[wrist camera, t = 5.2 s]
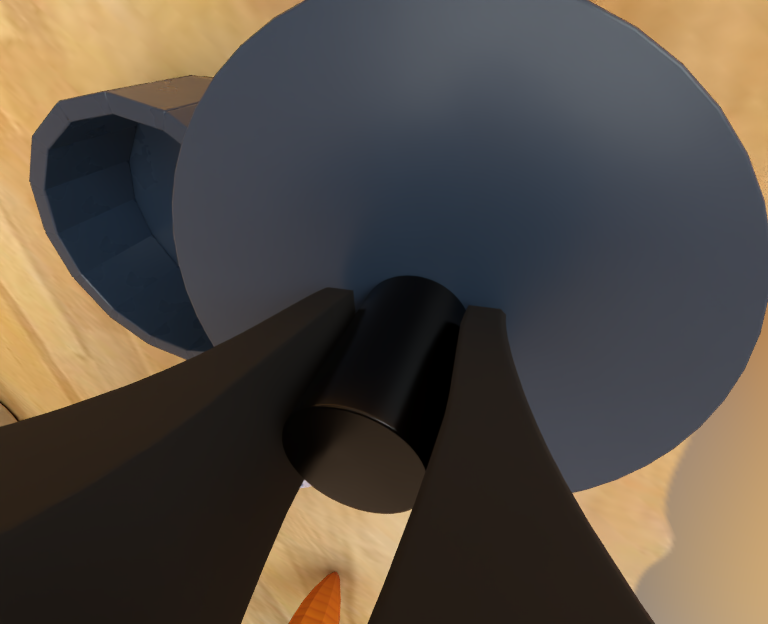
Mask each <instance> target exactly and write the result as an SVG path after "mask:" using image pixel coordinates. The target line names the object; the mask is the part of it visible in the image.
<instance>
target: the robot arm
mask: <svg viewBox="0 0 768 624" xmlns="http://www.w3.org/2000/svg"><path fill="white" fill-rule="evenodd" d="M355 314H356V312H355V302H354V292H353V290H346V289H338V288H331V287H326V288H324V289H321V290H319V291H317V292H315V293H313V294H311V295H309V296H308V297H306V298H304V299H302V300H300V301H298V302H297V303H295V304H293V305H291V306H289V307H288V308H286V309H284V310H282V311H281V312H279V313H277V314H275V315H273V316H272V317H270V318H268V319H266V320H264V321H263V322H261V323H259V324H257V325H255V326H253V327H252V328H250V329H248V330H246V331H244V332H242V333H240V334H239V335H237V336H235V337H233V338H231V339H229V340H227V341H225V342H223V343H221V344H219V345H217V346H215V347H213V348H211V349H209V350H207V351H205V352H203V353H201V354H199V355H197V356H195V357H193V358H191V359H189V360H186V361H184V362H182V363H180V364H177V365H175V366H173V367H171V368H169V369H166V370H164V371H161V372H159V373H156V374H154V375H152V376H149V377H147V378H144V379H142V380H140V381H137V382H135V383H132V384H129V385H127V386H124V387H121V388H119V389H116V390H113V391H110V392H107V393H104V394H101V395H99V396H96V397H93V398H90V399H87V400H84V401H81V402H78V403H76V404H73V405H70V406H67V407H64V408H61V409H58V410H55V411H52V412H49V413H45V414H42V415H39V416H35V417H32V418H29V419H25V420H22V421H19V422H15V423H12V424H8V425H4V426H1V427H0V624H241V622H242V620H243V617H244V614H245V612H246V609H247V607H248V604H249V602H250V599H251V597H252V594H253V592H254V590H255V587H256V585H257V582H258V580H259V577H260V575H261V572H262V570H263V567H264V565H265V562H266V560H267V558H268V555H269V553H270V551H271V549H272V546H273V544H274V542H275V539H276V537H277V535H278V532H279V530H280V528H281V525H282V523H283V521H284V518H285V516H286V514H287V512H288V510H289V508H290V506H291V504H292V502H293V500H294V498H295V496H296V494H297V492H298V490H299V488H305V487H310V486H311V485H310V484H309V483H308V482H307V481H306V480H304V479H303V478H302V477H301V476H300V474H299V473H298V472H297V471H296V470H295V469H294V467H293V466H292V465H291V463H290V462H289V460H288V458H287V456H286V454H285V451H284V448H283V444H282V430H283V426H284V424H285V421H286V420H287V418H288V417H289V415H290V414H291V412H292V411H293V409H294V408H295V406H296V404H297V403H298V401H299V400H300V398H301V397H302V395H303V394H304V392H305V391H306V389H307V388H308V386H309V385H310V383H311V381H312V380H313V378H314V377H315V375H316V374H317V372H318V371H319V369H320V368H321V366H322V365H323V363H324V362H325V360H326V358H327V357H328V355H329V354H330V352H331V351H332V349H333V348H334V346H335V345H336V343H337V342H338V340H339V339H340V337H341V335H342V334H343V332H344V331H345V329H346V328H347V326H348V325H349V323H350V322H351V320H352V319H353V317H354V316H355ZM368 624H655V623H654V622H653V620H652V619H651V617H650V616H649V614H648V613H647V612H646V610H645V609H644V607H643V606H642V604H641V603H640V602H639V600H638V598H637V597H636V595H635V594H634V592H633V591H632V589H631V587H630V586H629V584H628V583H627V581H626V580H625V578H624V577H623V575H622V573H621V572H620V570H619V569H618V567H617V566H616V564H615V563H614V561H613V559H612V558H611V556H610V555H609V553H608V552H607V550H606V548H605V547H604V545H603V544H602V542H601V541H600V539H599V538H598V536H597V534H596V533H595V531H594V530H593V528H592V527H591V525H590V523H589V522H588V520H587V518H586V517H585V515H584V513H583V512H582V510H581V508H580V506H579V504H578V503H577V501H576V499H575V497H574V496H573V494H572V492H571V490H570V489H569V487H568V485H567V483H566V482H565V480H564V478H563V476H562V474H561V472H560V470H559V468H558V466H557V464H556V462H555V461H554V459H553V457H552V455H551V453H550V451H549V449H548V447H547V444H546V442H545V440H544V438H543V436H542V434H541V432H540V429H539V427H538V425H537V423H536V420H535V418H534V415H533V413H532V411H531V408H530V406H529V404H528V401H527V398H526V396H525V393H524V391H523V388H522V385H521V382H520V379H519V376H518V373H517V370H516V367H515V364H514V360H513V357H512V353H511V349H510V345H509V341H508V335H507V329H506V314H505V313H504V312H503V311H502V310H501V309H496V308H489V307H481V306H473V305H469V306H468V308H467V310H466V312H465V314H464V316H463V319H462V321H461V324H460V330H459V336H458V342H457V348H456V355H455V361H454V367H453V374H452V380H451V386H450V392H449V398H448V402H447V406H446V411H445V415H444V418H443V421H442V424H441V427H440V430H439V433H438V436H437V439H436V442H435V445H434V448H433V452H432V455H431V458H430V460H429V463H428V466H427V469H426V472H425V475H424V477H423V480H422V483H421V486H420V489H419V492H418V494H417V497H416V500H415V503H414V506H413V509H412V511H411V514H410V517H409V519H408V522H407V525H406V527H405V530H404V532H403V535H402V538H401V540H400V543H399V546H398V548H397V551H396V554H395V556H394V559H393V561H392V564H391V567H390V569H389V572H388V575H387V577H386V580H385V582H384V585H383V587H382V590H381V592H380V595H379V597H378V600H377V602H376V605H375V607H374V609H373V612H372V614H371V617H370V619H369V622H368Z"/></svg>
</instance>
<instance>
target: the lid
mask: <svg viewBox="0 0 768 624" xmlns="http://www.w3.org/2000/svg"><path fill="white" fill-rule="evenodd" d="M172 214H173V234H174V240H175V246H176V252H177V258H178V263H179V267H180V270H181V274H182V277H183V280H184V284H185V287H186V290H187V293H188V295H189V298H190V300H191V303H192V305H193V308H194V310H195V312H196V315H197V317H198V319H199V321H200V323H201V324H202V326H203V328H204V330H205V332H206V334H207V336H208V338H209V339H210V341H211V342H212V344H213V346H214V347H215V346H217V345H219V344H221V343H223V342H225V341H227V340H229V339H231V338H233V337H235V336H237V335H239V334H240V333H242V332H244V331H246V330H248V329H250V328H252V327H253V326H255V325H257V324H259V323H261V322H263V321H264V320H266V319H268V318H270V317H272V316H273V315H275V314H277V313H279V312H281V311H282V310H284V309H286V308H288V307H289V306H291V305H293V304H295V303H297V302H298V301H300V300H302V299H304V298H306V297H308V296H309V295H311V294H313V293H315V292H317V291H319V290H321V289H324V288H326V287H331V288H338V289H346V290H353V292H354V302H355V312H356V314H355V316H354V317H353V319H352V320H351V322H350V323H349V325H348V326H347V328H346V329H345V331H344V332H343V334H342V335H341V337H340V339H339V340H338V342H337V343H336V345H335V346H334V348H333V349H332V351H331V352H330V354H329V355H328V357H327V358H326V360H325V362H324V363H323V365H322V366H321V368H320V369H319V371H318V372H317V374H316V375H315V377H314V378H313V380H312V381H311V383H310V385H309V386H308V388H307V389H306V391H305V392H304V394H303V395H302V397H301V398H300V400H299V401H298V403H297V404H296V406H295V408H294V409H293V411H292V412H291V414H290V415H289V417H288V418H287V420H286V421H285V424H284V426H283V430H282V444H283V448H284V451H285V454H286V456H287V458H288V460H289V462H290V463H291V465H292V466H293V467H294V469H295V470H296V471H297V472H298V473H299V474H300V476H301V477H302V478H303V479H304V480H306V481H307V482H308V483H309V484H310V485H311V486H313V487H314V488H315V489H317V490H318V491H320V492H321V493H323V494H324V495H326V496H328V497H329V498H331V499H333V500H335V501H337V502H339V503H341V504H344V505H347V506H349V507H352V508H355V509H358V510H362V511H366V512H372V513H381V514H394V513H401V512H405V511H408V510H411V509H413V506H414V503H415V500H416V497H417V494H418V492H419V489H420V486H421V483H422V480H423V477H424V475H425V472H426V469H427V466H428V463H429V460H430V458H431V455H432V452H433V448H434V445H435V442H436V439H437V436H438V433H439V430H440V427H441V424H442V421H443V418H444V415H445V411H446V406H447V402H448V398H449V392H450V386H451V380H452V374H453V367H454V361H455V355H456V348H457V342H458V336H459V330H460V324H461V321H462V319H463V316H464V314H465V312H466V310H467V308H468V306H469V305H473V306H481V307H489V308H496V309H501V310H502V311H503V312H504V313H505V314H506V329H507V335H508V341H509V345H510V349H511V353H512V357H513V360H514V364H515V367H516V370H517V373H518V376H519V379H520V382H521V385H522V388H523V391H524V393H525V396H526V398H527V401H528V404H529V406H530V408H531V411H532V413H533V415H534V418H535V420H536V423H537V425H538V427H539V429H540V432H541V434H542V436H543V438H544V440H545V442H546V444H547V447H548V449H549V451H550V453H551V455H552V457H553V459H554V461H555V462H556V464H557V466H558V468H559V470H560V472H561V474H562V476H563V478H564V480H565V482H566V483H567V485H568V487H569V489H570V490H571V492H572V493H574V492H578V491H583V490H587V489H590V488H593V487H596V486H599V485H602V484H605V483H608V482H611V481H614V480H617V479H619V478H621V477H623V476H625V475H628V474H630V473H632V472H634V471H636V470H638V469H641V468H643V467H645V466H647V465H648V464H650V463H652V462H653V461H655V460H656V459H658V458H660V457H661V456H663V455H664V454H666V453H668V452H669V451H671V450H672V449H674V448H675V447H676V446H678V445H679V444H680V443H681V442H683V441H684V440H685V439H686V438H687V437H689V436H690V435H691V434H692V433H693V432H695V431H696V430H697V429H698V428H700V427H701V426H702V424H703V423H704V422H705V421H706V420H707V419H708V418H709V417H710V415H712V413H713V412H714V411H715V410H716V409H717V408H718V406H720V405H721V404H722V402H723V401H724V400H725V398H726V397H727V396H728V394H729V392H730V391H731V389H732V388H733V386H734V385H735V383H736V382H737V380H738V379H739V377H740V376H741V374H742V372H743V371H744V369H745V367H746V365H747V363H748V361H749V358H750V356H751V354H752V351H753V349H754V346H755V344H756V342H757V340H758V337H759V335H760V333H761V328H762V324H763V320H764V315H765V311H766V307H767V303H768V219H767V213H766V206H765V200H764V197H763V195H762V192H761V189H760V186H759V184H758V181H757V178H756V175H755V172H754V170H753V167H752V164H751V161H750V158H749V156H748V153H747V151H746V150H745V148H744V146H743V144H742V143H741V141H740V139H739V138H738V136H737V134H736V133H735V131H734V129H733V128H732V126H731V124H730V122H729V121H728V119H727V117H726V116H725V114H724V112H723V111H722V109H721V107H720V106H719V105H718V104H717V102H716V101H715V100H714V99H713V98H712V97H711V96H710V94H709V93H708V92H707V91H706V90H705V89H704V88H703V86H702V85H701V84H700V83H699V82H698V81H697V79H696V78H695V77H694V76H693V75H692V74H691V73H690V71H689V70H688V69H687V68H686V67H685V66H684V65H683V64H682V63H681V62H680V61H679V60H677V59H676V58H675V57H674V56H672V55H671V54H670V53H669V52H667V51H666V50H665V49H664V48H662V47H661V46H660V45H659V44H657V43H656V42H655V41H654V40H653V39H651V38H650V37H649V36H648V35H646V34H645V33H644V32H643V31H641V30H640V29H639V28H638V27H636V26H634V25H632V24H631V23H629V22H627V21H625V20H623V19H622V18H620V17H618V16H616V15H614V14H612V13H611V12H609V11H607V10H605V9H603V8H601V7H600V6H598V5H596V4H594V3H592V2H591V1H589V0H304V1H302V2H301V3H299V4H297V5H295V6H294V7H292V8H290V9H288V10H287V11H285V12H283V13H281V14H280V15H278V16H276V17H274V18H273V19H272V20H270V21H269V22H268V23H267V24H266V25H264V26H263V27H262V28H261V29H260V30H258V31H257V32H256V33H255V34H254V35H252V36H251V37H250V38H249V39H247V40H246V41H245V42H244V43H243V44H241V45H240V47H239V48H238V49H237V50H236V51H235V52H234V54H233V55H232V56H231V57H230V58H229V59H228V61H227V62H226V63H225V64H224V65H223V66H222V68H221V69H220V70H219V71H218V72H217V73H216V75H215V76H214V78H213V79H212V81H211V83H210V84H209V86H208V88H207V89H206V91H205V93H204V94H203V96H202V97H201V99H200V101H199V102H198V104H197V106H196V107H195V110H194V112H193V115H192V117H191V120H190V122H189V125H188V127H187V130H186V132H185V135H184V137H183V140H182V143H181V148H180V152H179V156H178V160H177V165H176V169H175V175H174V186H173V198H172Z"/></svg>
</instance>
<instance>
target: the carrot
mask: <svg viewBox="0 0 768 624" xmlns="http://www.w3.org/2000/svg"><path fill="white" fill-rule="evenodd" d="M340 603H341V597H340V578H339V576H338V573H337V572H333V573H331V574H329V575H327V576H326V577H325V578H324V579H323V580H322V581H321V582H320V583H319V584H318V585H316V586H315V588H314V589H313V590H312V591H311V592H310V593H309V594H308V596H307V597H306V598H305V599H304V600H303V602H302V603H301V605H300V606H299V608H298V610H297V611H296V613H295V614H294V616H293V617H292V619H291V621H290V622H289V624H339V621H340Z"/></svg>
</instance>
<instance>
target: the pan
mask: <svg viewBox="0 0 768 624" xmlns="http://www.w3.org/2000/svg"><path fill="white" fill-rule="evenodd" d="M212 79H213V78H210V77H198V76H193V75H189V76H184V77H178V78H173V79H167V80H162V81H156V82H151V83H145V84H140V85H134V86H129V87H123V88H118V89H112V90H107V91H102V92H97V93H92V94H88V95H83V96H78V97H74V98H69V99H64V100H60V101H59V102H57V104H56V105H55V106H54V108H53V109H52V110H51V111H50V113H49V114H48V115H47V117H46V118H45V119H44V121H43V122H42V123H41V125H40V126H39V127H38V129H37V130H36V131H35V133H34V134H33V136H32V145H31V162H30V178H29V181H30V182H31V183H30V185H31V188H32V191H33V194H34V197H35V201H36V204H37V207H38V210H39V214H40V217H41V220H42V223H43V227H44V230H45V231H46V232H45V233H46V234H47V236H48V238H49V239H50V241H51V243H52V244H53V246H54V247H55V249H56V251H57V252H58V254H59V256H60V257H61V259H62V261H63V262H64V264H65V265H66V267H67V269H68V270H69V272H70V274H71V275H72V277H74V279H75V280H76V281H77V282H78V283H79V284H80V285H81V287H82V288H83V289H84V290H85V291H86V292H87V293H88V294H89V295H90V296H91V297H92V298H93V299H94V300H95V302H96V303H97V304H98V305H99V306H100V307H101V308H102V309H103V310H104V311H105V312H106V313H107V314H108V315H109V316H110V317H111V318H112V319H114V320H115V321H117V322H118V323H119V324H121V325H122V326H124V327H125V328H126V329H128V330H129V331H131V332H132V333H133V334H135V335H136V336H138V337H139V338H140V339H142V340H143V341H145V342H146V343H148V344H150V345H152V346H154V347H157V348H159V349H161V350H164V351H166V352H169V353H171V354H174V355H176V356H179V357H181V358H184V359H186V360H189V359H191V358H193V357H195V356H197V355H199V354H201V353H203V352H205V351H207V350H209V349H211V348H213V347H214V346H213V344H212V342H211V341H210V339H209V338H208V336H207V334H206V332H205V330H204V328H203V326H202V324H201V323H200V321H199V319H198V317H197V315H196V312H195V310H194V308H193V305H192V303H191V300H190V298H189V295H188V293H187V290H186V287H185V284H184V280H183V277H182V274H181V270H180V267H179V263H178V258H177V252H176V246H175V240H174V234H173V214H172V198H173V186H174V175H175V169H176V165H177V160H178V156H179V152H180V148H181V143H182V140H183V137H184V135H185V132H186V130H187V127H188V125H189V122H190V120H191V117H192V115H193V112H194V110H195V107H196V106H197V104H198V102H199V101H200V99H201V97H202V96H203V94H204V93H205V91H206V89H207V88H208V86H209V84H210V83H211V81H212Z"/></svg>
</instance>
